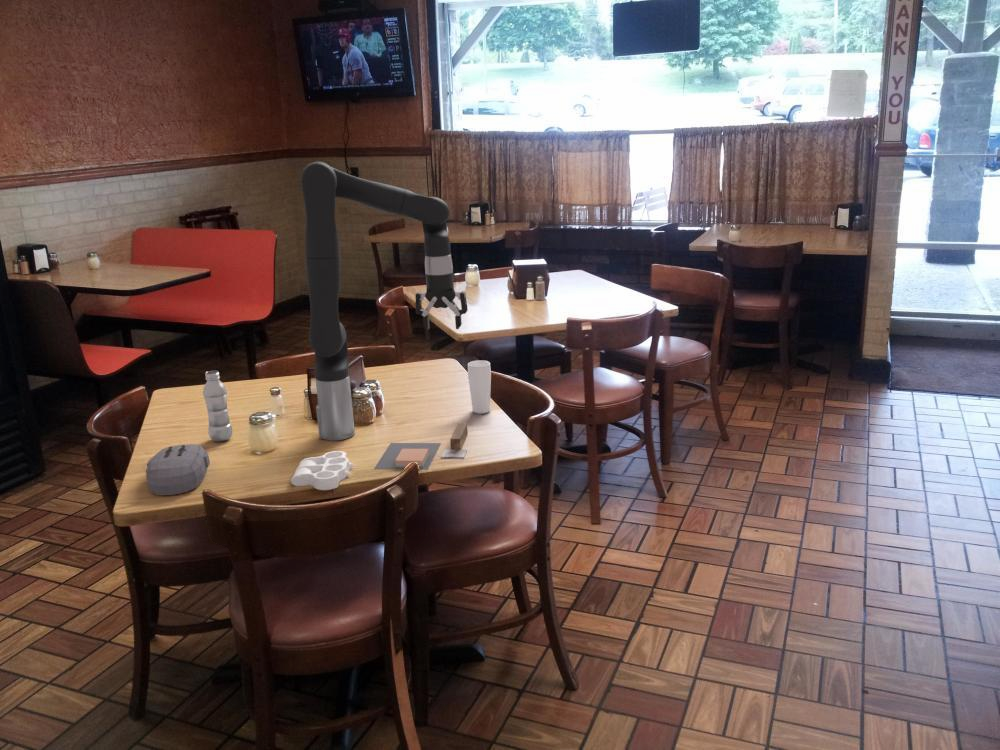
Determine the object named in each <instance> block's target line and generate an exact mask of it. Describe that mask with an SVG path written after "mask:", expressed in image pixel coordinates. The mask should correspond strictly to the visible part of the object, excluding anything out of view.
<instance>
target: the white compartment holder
mask: <svg viewBox="0 0 1000 750" xmlns="http://www.w3.org/2000/svg"><path fill="white" fill-rule="evenodd" d="M354 466H356V464H355V463H351V462H350V460H349V458H348V454H347V452H345V451H342V450H334V451H329V452H326V453H324V454H323V455H319V456H311V457H305V458H304V459H302V460H301V461H299V465H298V466H297V468H296V469H295V470H294V471H295V472H294V474H293V475H292V477H291V479H290V483H291V485H293V486H295V487H305V486H312V487H314V488H315V489H316V490H319V491H329V490H334V489H336V488H339V487H340V486H339V485H340V483H339V482H341V481H342V480H345V479H346V478H347V477H349V476H351V475H352V473H351V472H350V470H351V469H352V468H353V467H354Z"/></svg>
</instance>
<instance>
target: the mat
mask: <svg viewBox="0 0 1000 750" xmlns="http://www.w3.org/2000/svg"><path fill="white" fill-rule="evenodd" d="M441 444H442V442H390V443H389V445H388V446H387V447H386V449H385V451H384V452H383V454H382V455H381V457H380V459H379V460H378V461H377V463H376V465H375V466H374V468H373V470H405V469H404V468H396V464H395V460H396V458H397V457H398V455H399V453H400V452H401V450H402V449H429V457H428V459H427V461H426V463H425V465H424V467H423V468H420V470H419V471H421V470H424V471H425V470H427V471H428V470H429V468H430V466H431V464H432V462H433V461H434V458H435V456H436V454H437V452H438V450H439V448H440V447H441Z"/></svg>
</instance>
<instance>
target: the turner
mask: <svg viewBox="0 0 1000 750" xmlns="http://www.w3.org/2000/svg"><path fill="white" fill-rule="evenodd" d="M468 431H469V429H468V423H467V422H458V423H457V424H456V426H455V428H454V430H453V432H452V434H451V436H450V439H449V441H450V449H443V452H442V454H441V457H440V459H465V457H466V455H467V454H468V453H467V452H468V449H463V447H464V444H465V442H466V441H467V438H468Z"/></svg>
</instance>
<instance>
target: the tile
mask: <svg viewBox="0 0 1000 750" xmlns="http://www.w3.org/2000/svg"><path fill="white" fill-rule="evenodd" d="M428 457H429V449H402V450H401V452H400V453H399V455H398V457H397V458H396V460H395V464H396V468H405V467H406V466H407V465H408V464H409V463H411V462H417V463H418V465H419V468H423V467H424V465H425V463H426V461H427V459H428Z"/></svg>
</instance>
